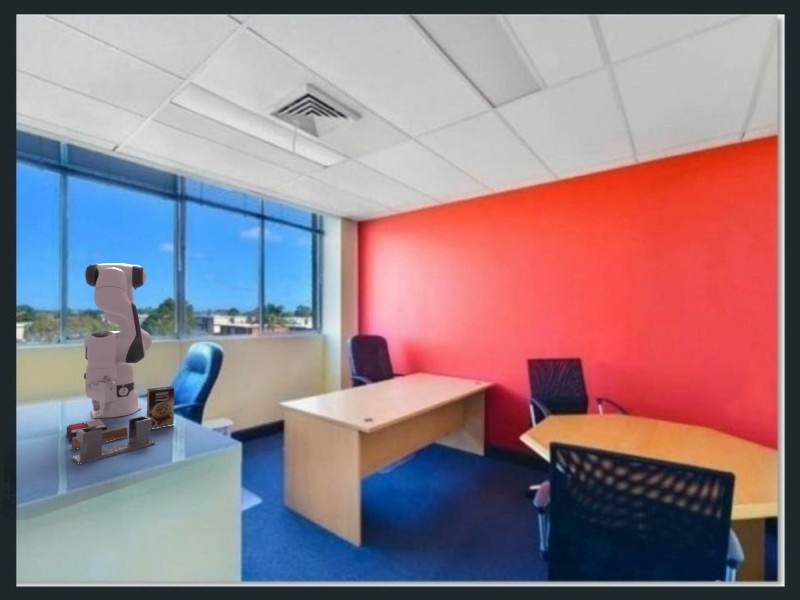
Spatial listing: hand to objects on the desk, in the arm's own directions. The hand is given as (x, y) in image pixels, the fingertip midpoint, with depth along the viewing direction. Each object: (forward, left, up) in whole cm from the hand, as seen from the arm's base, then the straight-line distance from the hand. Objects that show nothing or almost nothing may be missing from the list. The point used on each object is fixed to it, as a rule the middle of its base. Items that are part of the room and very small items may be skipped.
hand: (100, 412), depth 139 cm
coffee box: (-2, +21, -11) cm, 24 cm away
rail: (0, 0, -12) cm, 12 cm away
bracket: (+15, 0, -11) cm, 18 cm away
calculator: (-16, 0, -12) cm, 20 cm away
